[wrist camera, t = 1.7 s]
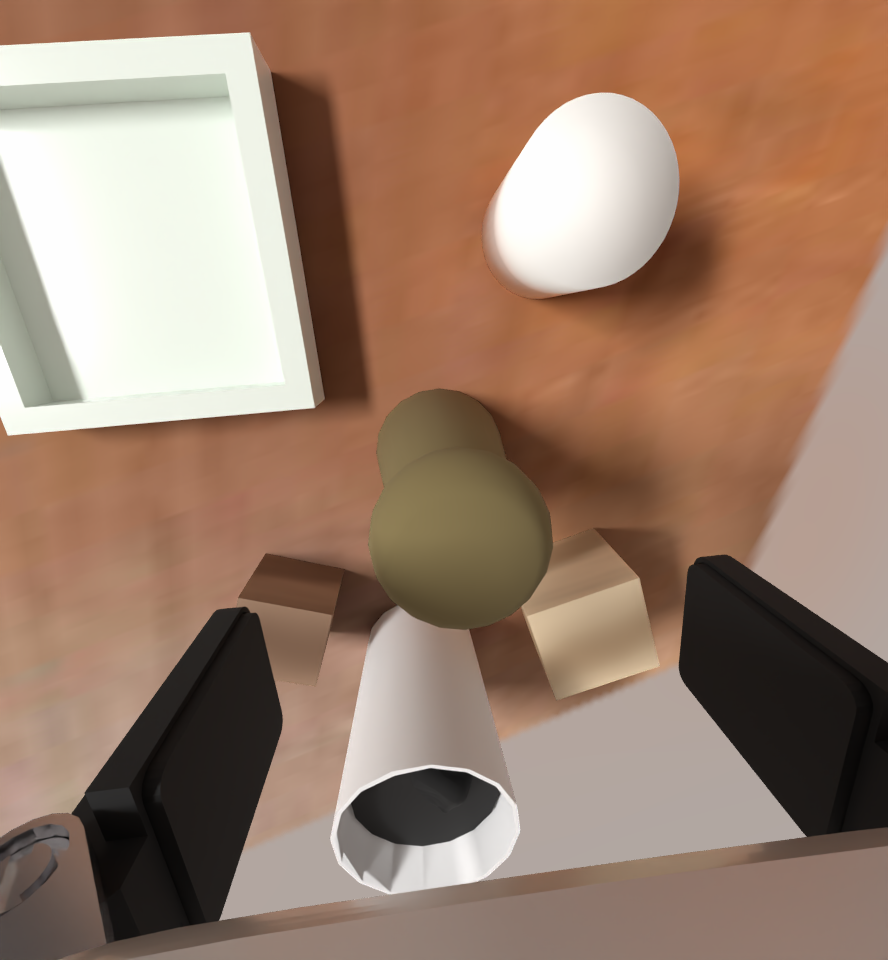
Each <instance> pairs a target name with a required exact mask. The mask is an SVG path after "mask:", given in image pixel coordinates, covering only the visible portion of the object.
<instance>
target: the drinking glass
mask: <svg viewBox="0 0 888 960" xmlns="http://www.w3.org/2000/svg"><path fill="white" fill-rule="evenodd" d="M519 833H520V825H519V818H518V810H517V804H516V800H515V797H514V793H513V789H512V786H511V782H510V778H509V775H508V771H507V767H506V764H505V760H504V756H503V752H502V749H501V745H500V741H499V738H498V734H497V730H496V727H495V723H494V719H493V716H492V712H491V708H490V705H489V701H488V697H487V693H486V690H485V686H484V682H483V679H482V675H481V671H480V668H479V664H478V660H477V657H476V653H475V649H474V646H473V642H472V638H471V635H470V631H469V629H467V630H459V629H448V628H439V627H436V626H434V625H431V624H429V623H426V622H423V621H421V620H418V619H416V618H414V617H412V616H411V615H410V614H408V613H407V612H406V611H404V610H403V609H402V608H401V607H399V606H398V605H397V606H395V607H394V608H392V609H390V610H388V611H387V612H385V613H383V615H382V616H381V617H380V618H379V620H378V621H377V622H376V623H375V625H374V626H373V627H372V629H371V634H370V638H369V642H368V647H367V652H366V657H365V663H364V668H363V673H362V678H361V683H360V688H359V693H358V699H357V704H356V709H355V714H354V719H353V724H352V730H351V735H350V740H349V745H348V750H347V755H346V760H345V766H344V771H343V776H342V781H341V786H340V791H339V796H338V802H337V807H336V812H335V818H334V822H333V827H332V833H331V838H330V840H331V843H332V846H333V849H334V852H335V855H336V858H337V861H338V864H339V865H340V866H341V867H343V868H344V869H345V870H346V871H347V872H348V873H349V874H350V875H351V876H352V877H353V878H355V879H356V880H357V881H358V882H359V883H361V884H364V885H366V886H369V887H371V888H374V889H377V890H380V891H382V892H385V893H387V894H397V893H404V892H411V891H418V890H424V889H431V888H438V887H445V886H452V885H459V884H466V883H473V882H477V881H479V880H481V879H483V878H485V877H487V876H488V875H490V874H491V873H492V872H493V871H494V870H495V869H496V868H497V867H498V866H499V865H500V864H501V863H502V862H503V861H505V860H506V859H507V858H508V857H509V856H510V854H511V851H512V849H513V847H514V844H515V842H516V840H517V837H518V835H519Z"/></svg>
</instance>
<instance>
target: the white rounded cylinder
mask: <svg viewBox="0 0 888 960" xmlns="http://www.w3.org/2000/svg"><path fill="white" fill-rule="evenodd" d="M678 194H679V168H678V162H677V157H676V152H675V149H674V147H673V144H672V141H671V139H670V137H669V135H668V133H667V131H666V129H665V128H664V126H663V125H662V123H661V122H660V120H659V119H658V118H657V117H656V116H655V115H654V114H653V113H652V112H651V111H650V110H649V109H648V108H646V107H645V106H644V105H643V104H641V103H639V102H637V101H636V100H634V99H631V98H629V97H626V96H623V95H619V94H614V93H595V94H588V95H585V96H582V97H578V98H576V99H574V100H572V101H569V102H567V103H565V104H564V105H562V106H561V107H559V108H558V109H556V110H555V111H554V112H553V113H552V114H551V115H549V116H548V117H547V118H546V119H545V120H544V121H543V122H542V124H541V125H540V126H539V127H538V128H537V130H536V131H535V132H534V134H533V135H532V137H531V138H530V140H529V141H528V143H527V144H526V146H525V148H524V149H523V151H522V152H521V154H520V155H519V157H518V158H517V160H516V161H515V163H514V164H513V166H512V167H511V169H510V171H509V172H508V174H507V175H506V177H505V178H504V180H503V181H502V183H501V184H500V186H499V187H498V189H497V190H496V192H495V194H494V195H493V197H492V198H491V200H490V202H489V204H488V207H487V209H486V212H485V215H484V219H483V225H482V248H483V252H484V257H485V260H486V262H487V265H488V267H489V269H490V271H491V273H492V274H493V276H494V277H495V278H496V280H497V281H498V282H499V283H500V284H501V285H502V286H503V287H505V288H506V289H507V290H509V291H510V292H512V293H514V294H516V295H518V296H521V297H525V298H530V299H544V298H550V297H555V296H560V295H565V294H570V293H575V292H580V291H585V290H590V289H595V288H600V287H605V286H608V285H612V284H615V283H617V282H619V281H621V280H624V279H625V278H627V277H629V276H630V275H632V274H634V273H635V272H636V271H637V270H639V269H640V268H641V267H642V266H643V265H644V264H645V263H646V262H647V261H648V260H649V259H650V258H651V257H652V256H653V255H654V253H655V252H656V251H657V250H658V248H659V247H660V245H661V243H662V242H663V240H664V239H665V237H666V234H667V232H668V230H669V228H670V226H671V223H672V220H673V218H674V215H675V210H676V206H677V202H678Z"/></svg>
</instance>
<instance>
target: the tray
mask: <svg viewBox="0 0 888 960" xmlns="http://www.w3.org/2000/svg"><path fill="white" fill-rule="evenodd" d="M324 399H325V397H324V391H323V385H322V379H321V373H320V367H319V361H318V355H317V349H316V343H315V337H314V331H313V325H312V319H311V312H310V306H309V300H308V294H307V288H306V282H305V276H304V270H303V264H302V258H301V252H300V246H299V240H298V234H297V228H296V222H295V215H294V209H293V203H292V197H291V191H290V185H289V179H288V173H287V167H286V161H285V155H284V149H283V143H282V137H281V131H280V125H279V118H278V112H277V106H276V100H275V94H274V88H273V82H272V76H271V71H270V69H269V67H268V65H267V63H266V62H265V60H264V58H263V56H262V54H261V52H260V51H259V49H258V47H257V45H256V43H255V41H254V40H253V38H252V36H251V34H250V33H231V34H212V35H193V36H174V37H155V38H136V39H117V40H98V41H79V42H60V43H41V44H22V45H3V46H0V417H1V419H2V422H3V424H4V427H5V429H6V432H7V434H8V435H18V434H29V433H40V432H52V431H63V430H74V429H85V428H96V427H107V426H118V425H130V424H141V423H152V422H163V421H174V420H185V419H197V418H208V417H219V416H230V415H241V414H252V413H263V412H275V411H286V410H297V409H308V408H315V407H316V406H318V405H319V404H320V403H321V402H322V401H323V400H324Z"/></svg>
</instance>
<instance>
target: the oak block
mask: <svg viewBox="0 0 888 960" xmlns="http://www.w3.org/2000/svg"><path fill="white" fill-rule="evenodd" d="M521 609H522V612H523V615H524V618H525V621H526V624H527V627H528V629H529V632H530V635H531V637H532V640H533V642H534V645H535V648H536V650H537V653H538V655H539V658H540V660H541V663H542V665H543V668H544V670H545V673H546V676H547V678H548V681H549V683H550V686H551V688H552V691H553V693H554V696H555V698H556V701H557V700H560V699H563V698H566V697H569V696H572V695H575V694H578V693H581V692H584V691H587V690H590V689H593V688H596V687H599V686H602V685H605V684H608V683H611V682H614V681H617V680H620V679H623V678H626V677H629V676H632V675H635V674H638V673H641V672H644V671H647V670H650V669H653V668H656V667H659V666H660V665H659V660H658V656H657V652H656V648H655V643H654V639H653V635H652V630H651V626H650V622H649V617H648V613H647V609H646V605H645V600H644V596H643V592H642V587H641V583H640V579H639V577H638V576H637V575H636V574H635V573H634V571H633V570H632V569H631V568H630V567H629V566H628V565H627V564H626V563H625V562H624V561H623V559H622V558H621V557H620V556H619V555H618V554H617V553H616V552H615V551H614V550H613V548H612V547H611V546H610V545H609V544H608V543H607V542H606V541H605V540H604V539H603V537H602V536H601V535H600V534H599V533H598V532H597V531H596V530H595V529H594V528H593V529H590V530H587V531H585V532H582V533H579V534H576V535H573V536H570V537H567V538H565V539H562V540H559V541H556V542H553V550H552V554H551V558H550V562H549V566H548V570H547V573H546V574H545V576H544V578H543V579H542V581H541V582H540V584H539V585H538V587H537V588H536V590H535V592H534V593H533V595H532V596H531V598H530V599H529V600H528V601H527V602H526V603H524V604H523V605H522V606H521Z"/></svg>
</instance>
